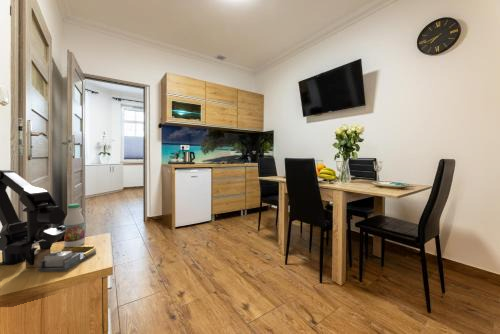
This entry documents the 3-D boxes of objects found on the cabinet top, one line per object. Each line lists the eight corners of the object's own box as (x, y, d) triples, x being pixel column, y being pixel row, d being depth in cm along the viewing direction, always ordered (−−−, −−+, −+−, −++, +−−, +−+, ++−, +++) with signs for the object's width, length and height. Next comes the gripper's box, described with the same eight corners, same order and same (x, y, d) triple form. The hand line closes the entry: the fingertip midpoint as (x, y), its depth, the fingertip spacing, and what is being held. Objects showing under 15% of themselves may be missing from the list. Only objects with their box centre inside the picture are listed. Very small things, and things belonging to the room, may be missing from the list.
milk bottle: (61, 245, 103) (60, 204, 102) (81, 240, 109) (80, 202, 109) (68, 249, 99) (67, 206, 98) (87, 243, 105) (86, 203, 105)
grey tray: (38, 272, 78) (37, 262, 78) (73, 252, 95) (73, 245, 95) (65, 271, 79) (65, 262, 79) (96, 252, 95) (96, 244, 95)
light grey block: (44, 266, 79) (44, 256, 79) (57, 260, 85) (56, 250, 84) (63, 266, 80) (63, 255, 79) (74, 259, 85) (74, 250, 85)
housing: (25, 267, 82) (25, 254, 81) (38, 261, 87) (37, 249, 86) (39, 267, 82) (38, 254, 82) (50, 261, 87) (50, 249, 87)
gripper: (34, 230, 75) (36, 273, 75) (76, 216, 93) (77, 251, 94) (2, 230, 74) (4, 274, 75) (50, 216, 93) (51, 251, 93)
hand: (38, 261), depth 84 cm, fingers closed on housing, 5 cm apart
